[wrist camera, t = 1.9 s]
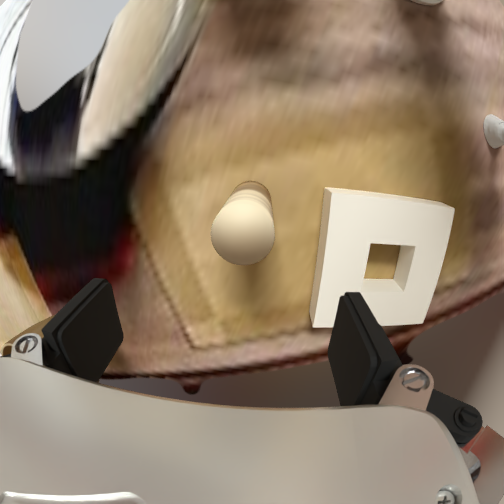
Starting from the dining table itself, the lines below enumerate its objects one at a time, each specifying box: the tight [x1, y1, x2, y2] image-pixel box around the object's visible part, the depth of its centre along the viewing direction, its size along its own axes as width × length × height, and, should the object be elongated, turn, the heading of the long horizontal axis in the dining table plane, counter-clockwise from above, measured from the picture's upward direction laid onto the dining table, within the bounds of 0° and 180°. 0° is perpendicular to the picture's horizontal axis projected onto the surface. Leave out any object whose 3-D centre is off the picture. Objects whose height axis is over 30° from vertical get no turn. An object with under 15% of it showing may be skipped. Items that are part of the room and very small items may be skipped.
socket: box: [309, 187, 455, 327], centre depth 30 cm, size 16×16×4 cm
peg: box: [211, 181, 275, 265], centre depth 24 cm, size 4×4×12 cm
